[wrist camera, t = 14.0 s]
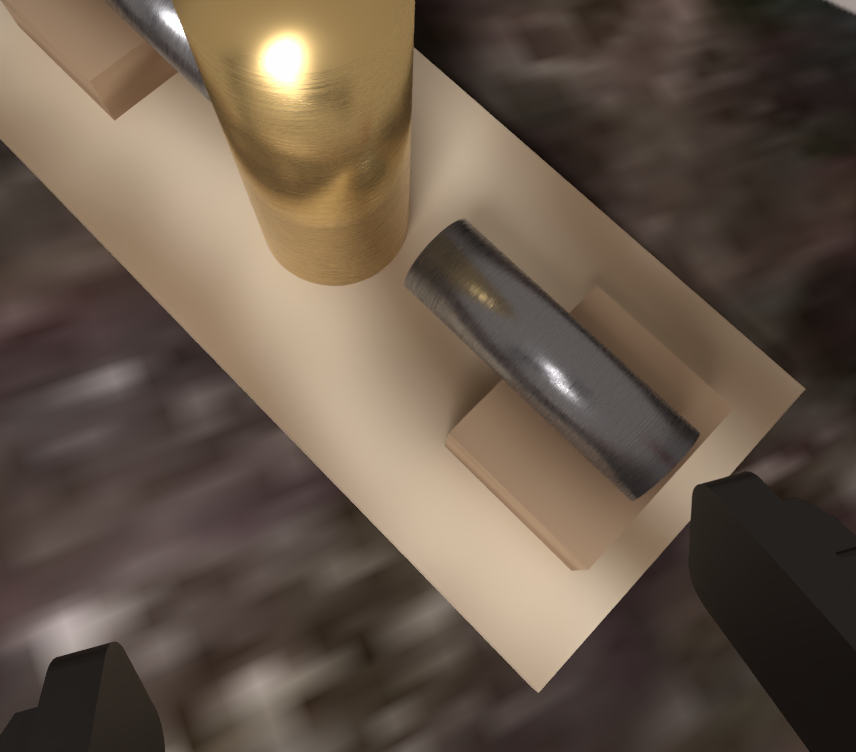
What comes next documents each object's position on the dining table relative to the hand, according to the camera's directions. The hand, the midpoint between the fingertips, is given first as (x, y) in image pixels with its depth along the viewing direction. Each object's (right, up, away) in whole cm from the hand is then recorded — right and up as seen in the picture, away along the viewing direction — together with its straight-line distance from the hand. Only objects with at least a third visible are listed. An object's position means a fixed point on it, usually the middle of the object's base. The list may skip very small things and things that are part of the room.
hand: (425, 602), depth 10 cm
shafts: (-3, +9, +11) cm, 15 cm away
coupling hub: (-3, +8, +13) cm, 16 cm away
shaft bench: (-3, +8, +14) cm, 17 cm away
